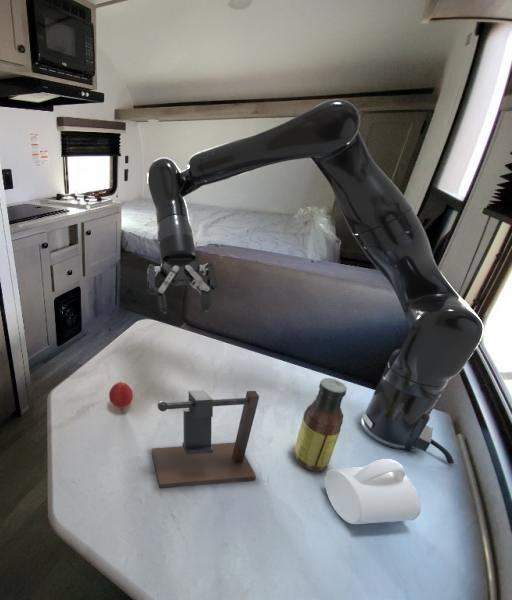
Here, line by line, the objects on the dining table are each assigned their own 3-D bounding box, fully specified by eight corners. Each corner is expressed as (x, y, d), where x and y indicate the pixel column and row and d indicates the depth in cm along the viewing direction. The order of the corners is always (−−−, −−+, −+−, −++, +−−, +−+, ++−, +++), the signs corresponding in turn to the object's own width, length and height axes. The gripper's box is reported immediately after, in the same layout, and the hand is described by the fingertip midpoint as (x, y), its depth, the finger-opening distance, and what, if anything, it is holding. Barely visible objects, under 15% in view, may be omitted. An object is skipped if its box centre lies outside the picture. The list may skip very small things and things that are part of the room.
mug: (319, 487, 61) (338, 443, 56) (371, 484, 62) (394, 440, 56) (351, 535, 54) (376, 489, 48) (409, 531, 54) (440, 485, 49)
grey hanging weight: (182, 445, 62) (181, 389, 61) (207, 444, 62) (207, 387, 61) (190, 462, 57) (190, 400, 56) (218, 460, 57) (218, 399, 56)
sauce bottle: (322, 451, 68) (352, 377, 60) (330, 477, 63) (364, 400, 54) (288, 443, 70) (312, 370, 62) (293, 467, 65) (320, 392, 56)
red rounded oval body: (105, 411, 79) (105, 386, 76) (114, 396, 84) (114, 371, 80) (128, 418, 77) (128, 392, 74) (135, 401, 82) (136, 377, 78)
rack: (255, 480, 63) (275, 409, 54) (157, 488, 61) (163, 416, 53) (237, 445, 70) (253, 378, 62) (149, 452, 69) (153, 384, 60)
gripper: (146, 233, 66) (154, 307, 61) (213, 231, 67) (226, 304, 62) (141, 250, 73) (148, 318, 68) (202, 248, 74) (213, 315, 69)
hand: (185, 311), depth 65 cm, fingers open, 8 cm apart
